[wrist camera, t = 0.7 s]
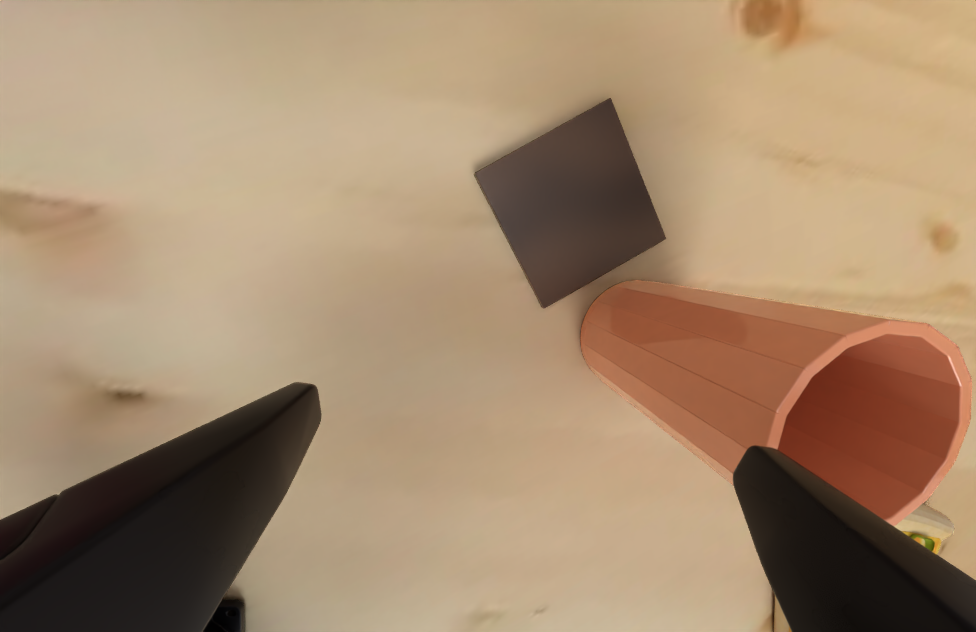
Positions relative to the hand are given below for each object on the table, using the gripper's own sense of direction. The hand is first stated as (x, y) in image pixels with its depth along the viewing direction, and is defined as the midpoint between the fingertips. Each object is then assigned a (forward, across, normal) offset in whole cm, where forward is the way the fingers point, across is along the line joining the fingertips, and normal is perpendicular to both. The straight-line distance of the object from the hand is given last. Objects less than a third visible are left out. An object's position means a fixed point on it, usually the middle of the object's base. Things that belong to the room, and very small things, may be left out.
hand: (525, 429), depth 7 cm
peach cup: (+14, -8, +5) cm, 17 cm away
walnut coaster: (+15, -2, -2) cm, 16 cm away
